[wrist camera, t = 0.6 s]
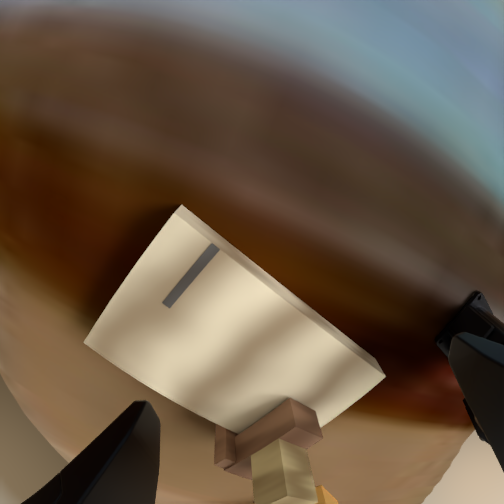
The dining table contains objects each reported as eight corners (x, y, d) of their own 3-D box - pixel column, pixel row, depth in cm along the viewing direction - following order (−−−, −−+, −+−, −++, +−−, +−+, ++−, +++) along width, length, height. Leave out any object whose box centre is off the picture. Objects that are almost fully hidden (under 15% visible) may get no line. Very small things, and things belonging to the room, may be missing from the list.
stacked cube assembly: (318, 398, 24) (346, 493, 15) (256, 441, 26) (264, 528, 16) (277, 375, 23) (296, 482, 13) (215, 423, 25) (213, 518, 15)
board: (375, 358, 24) (386, 377, 21) (279, 433, 26) (282, 452, 24) (181, 204, 19) (174, 212, 16) (95, 324, 21) (83, 342, 19)
